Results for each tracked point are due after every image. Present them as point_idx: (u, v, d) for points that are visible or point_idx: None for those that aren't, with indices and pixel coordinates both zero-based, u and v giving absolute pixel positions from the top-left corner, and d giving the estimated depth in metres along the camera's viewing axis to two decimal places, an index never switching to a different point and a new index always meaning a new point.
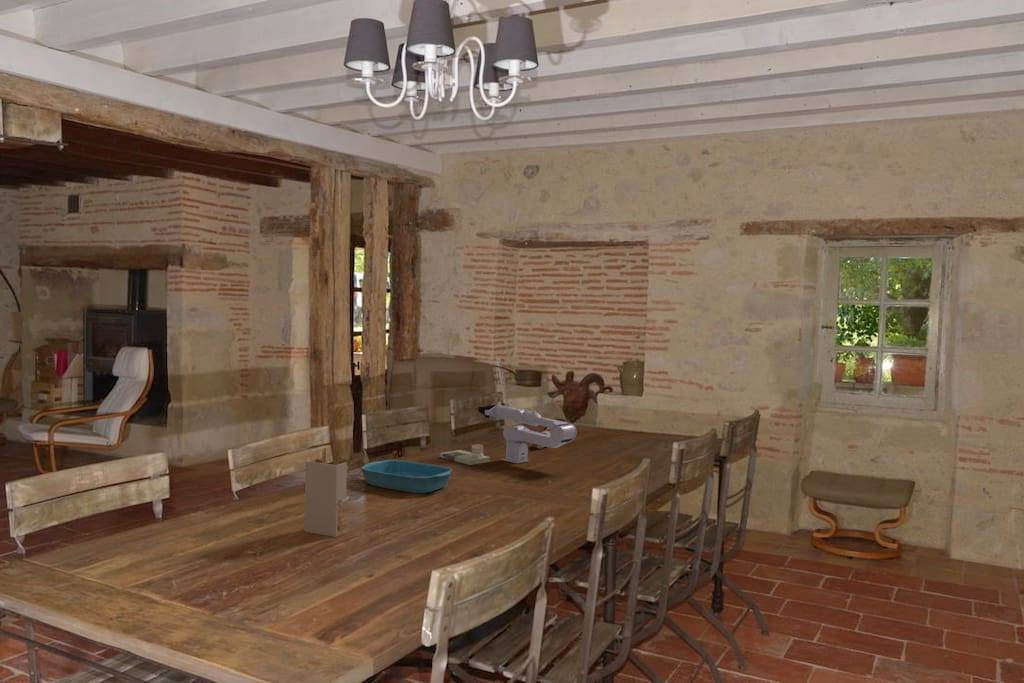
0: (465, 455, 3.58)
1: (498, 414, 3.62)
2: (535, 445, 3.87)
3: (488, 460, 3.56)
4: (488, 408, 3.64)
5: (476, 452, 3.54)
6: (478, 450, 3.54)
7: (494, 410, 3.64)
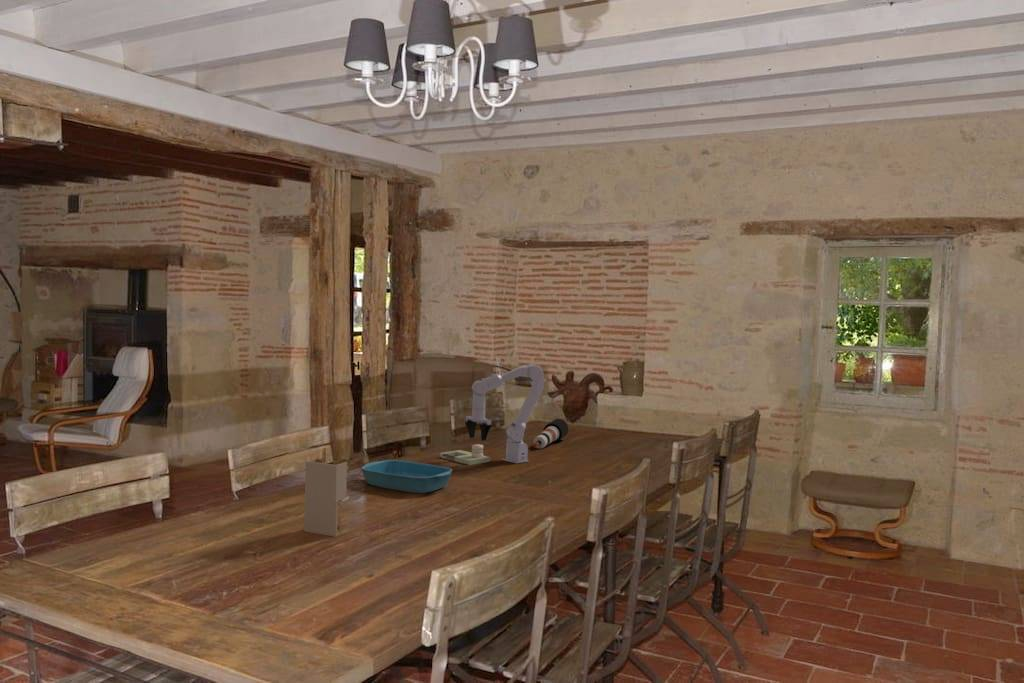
0: (465, 455, 3.58)
1: (484, 413, 3.54)
2: (535, 445, 3.87)
3: (488, 460, 3.56)
4: (483, 424, 3.51)
5: (476, 452, 3.54)
6: (478, 450, 3.54)
7: (481, 419, 3.53)
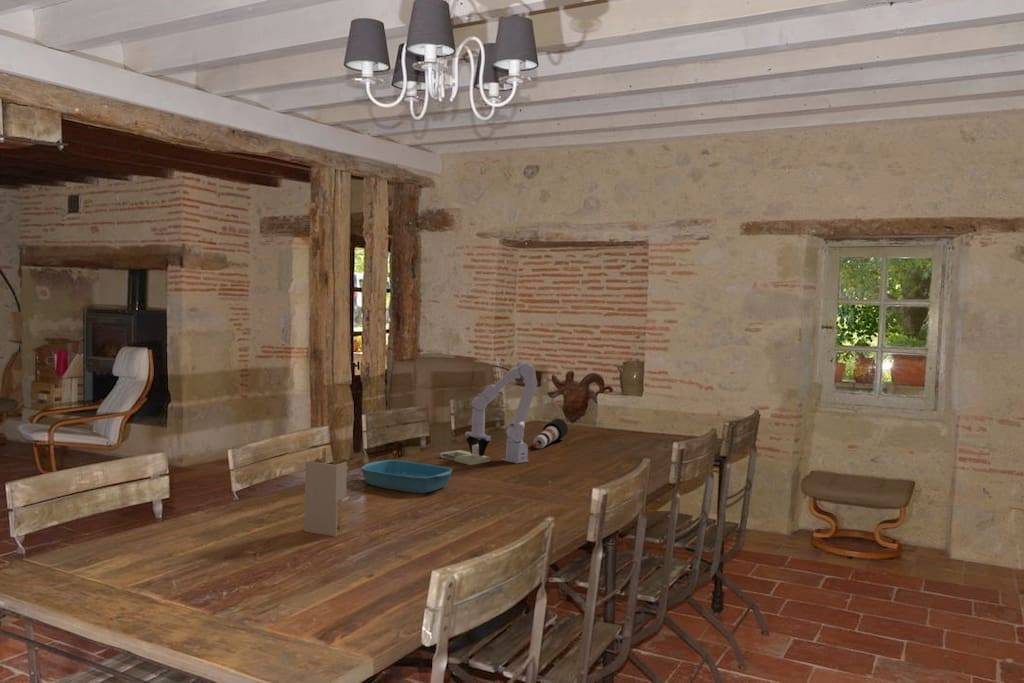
0: (465, 455, 3.58)
1: (483, 429, 3.54)
2: (535, 445, 3.87)
3: (488, 460, 3.56)
4: (481, 440, 3.52)
5: (476, 452, 3.54)
6: (478, 450, 3.54)
7: (481, 435, 3.53)
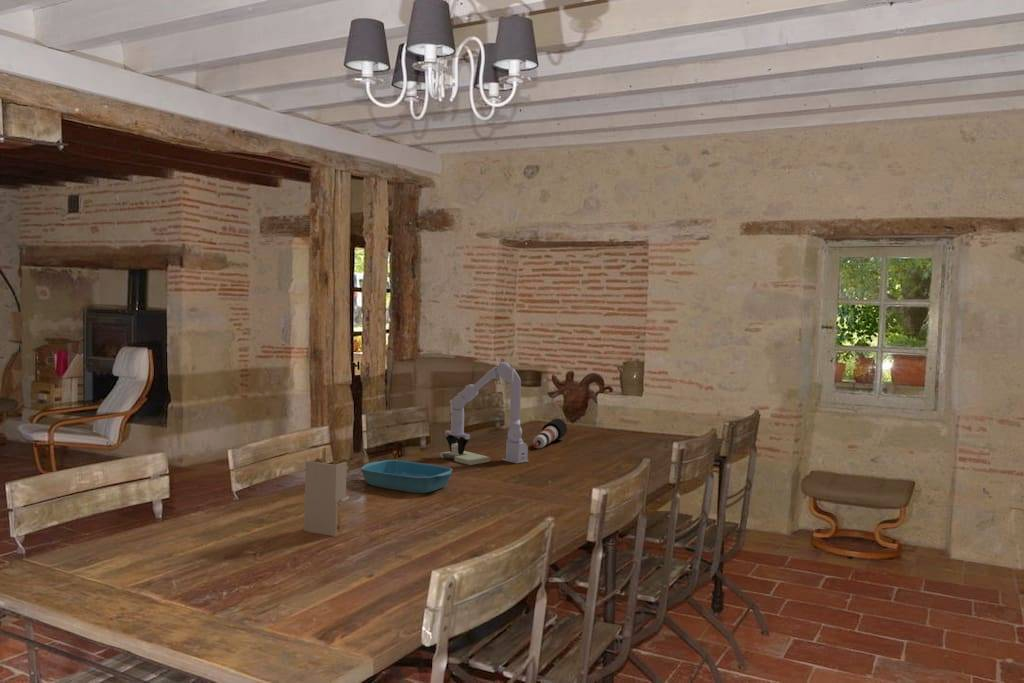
0: (465, 455, 3.58)
1: (462, 428, 3.59)
2: (534, 445, 3.87)
3: (488, 460, 3.56)
4: (460, 438, 3.57)
5: (455, 450, 3.59)
6: (457, 449, 3.59)
7: (460, 433, 3.58)
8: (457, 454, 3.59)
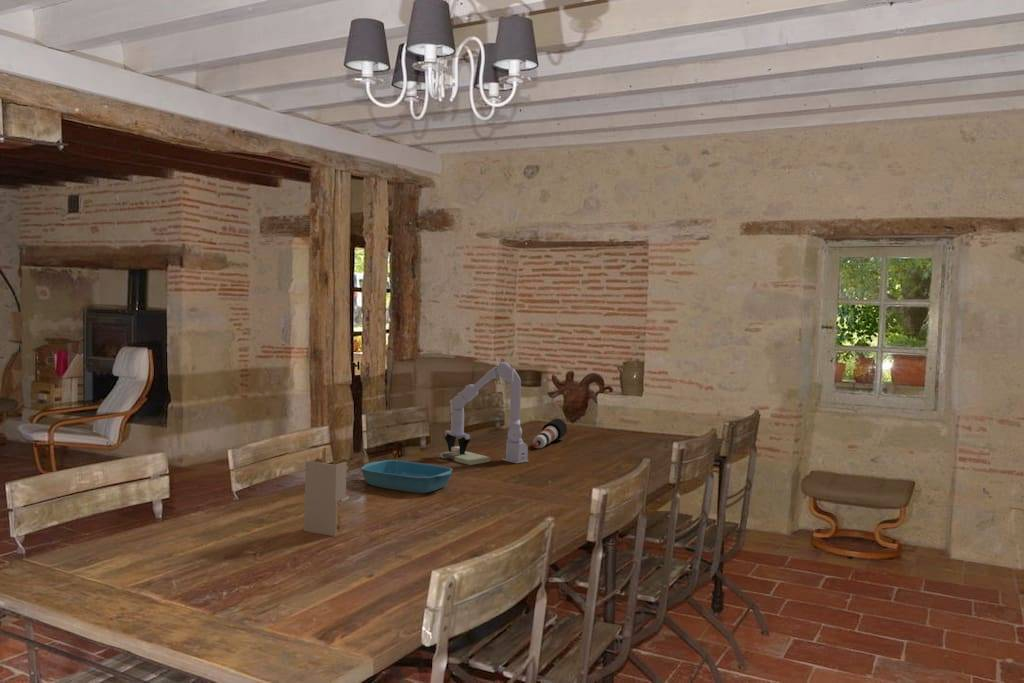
0: (465, 455, 3.58)
1: (462, 428, 3.59)
2: (534, 445, 3.87)
3: (488, 460, 3.56)
4: (461, 439, 3.56)
5: (455, 454, 3.59)
6: (457, 452, 3.59)
7: (460, 433, 3.58)
8: None
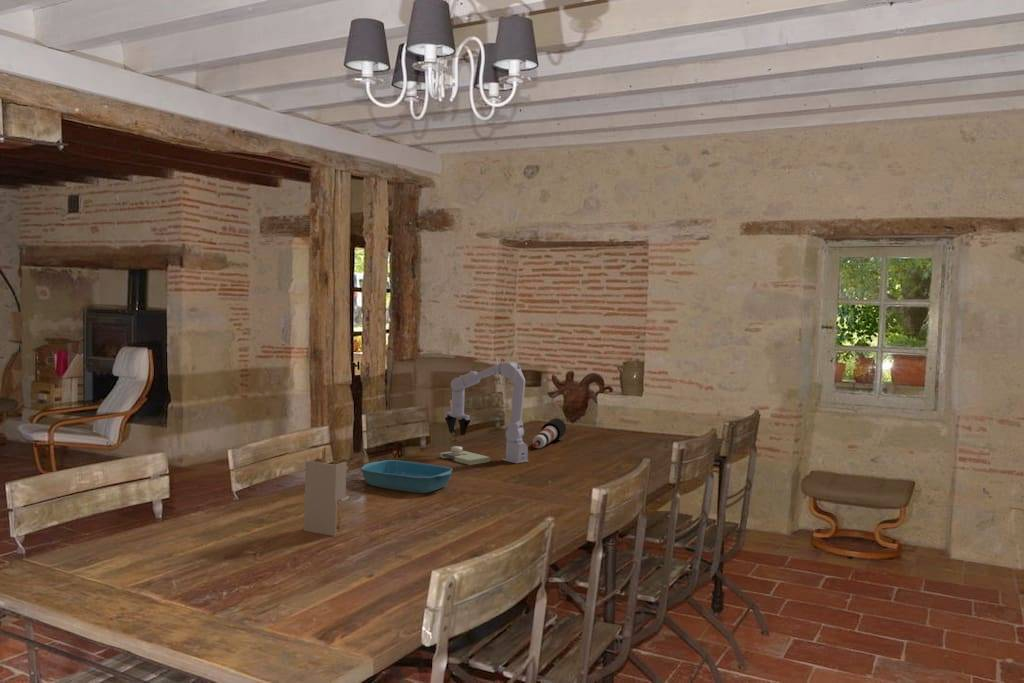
0: (465, 455, 3.58)
1: (463, 409, 3.65)
2: (534, 445, 3.87)
3: (488, 460, 3.56)
4: (462, 419, 3.62)
5: (455, 454, 3.59)
6: (457, 452, 3.59)
7: (460, 414, 3.64)
8: None
